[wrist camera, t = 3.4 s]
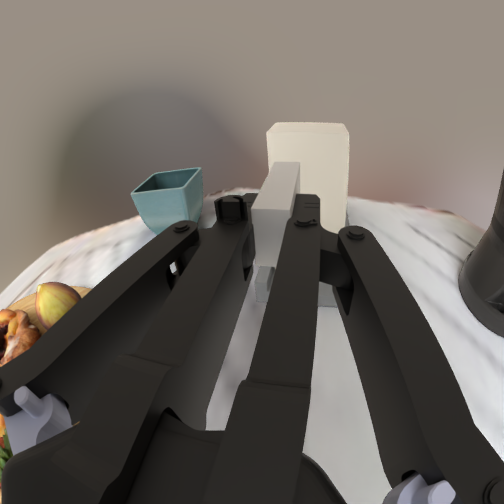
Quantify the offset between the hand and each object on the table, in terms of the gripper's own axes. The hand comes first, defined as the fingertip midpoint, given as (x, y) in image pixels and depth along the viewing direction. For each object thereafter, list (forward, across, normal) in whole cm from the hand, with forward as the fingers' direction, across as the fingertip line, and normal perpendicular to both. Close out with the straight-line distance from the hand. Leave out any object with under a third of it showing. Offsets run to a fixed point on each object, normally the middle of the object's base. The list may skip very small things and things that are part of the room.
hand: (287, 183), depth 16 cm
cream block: (+11, +1, -13) cm, 17 cm away
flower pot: (+19, -20, -15) cm, 31 cm away
